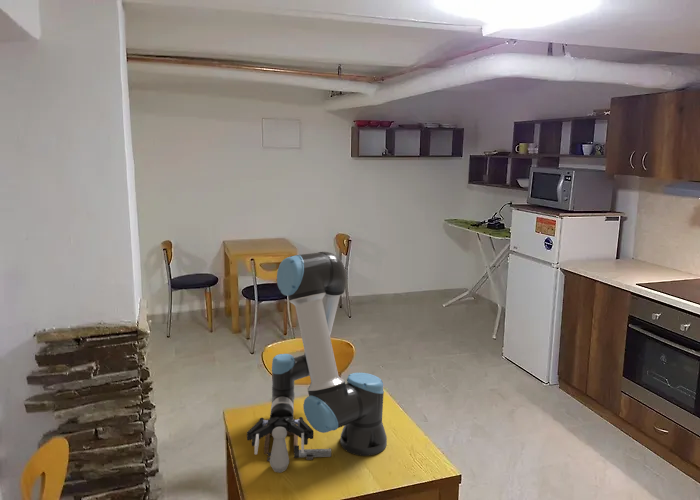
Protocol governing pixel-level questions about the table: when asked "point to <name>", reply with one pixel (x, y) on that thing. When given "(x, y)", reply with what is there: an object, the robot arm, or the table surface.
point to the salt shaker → (279, 450)
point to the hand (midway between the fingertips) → (279, 449)
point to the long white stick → (311, 452)
